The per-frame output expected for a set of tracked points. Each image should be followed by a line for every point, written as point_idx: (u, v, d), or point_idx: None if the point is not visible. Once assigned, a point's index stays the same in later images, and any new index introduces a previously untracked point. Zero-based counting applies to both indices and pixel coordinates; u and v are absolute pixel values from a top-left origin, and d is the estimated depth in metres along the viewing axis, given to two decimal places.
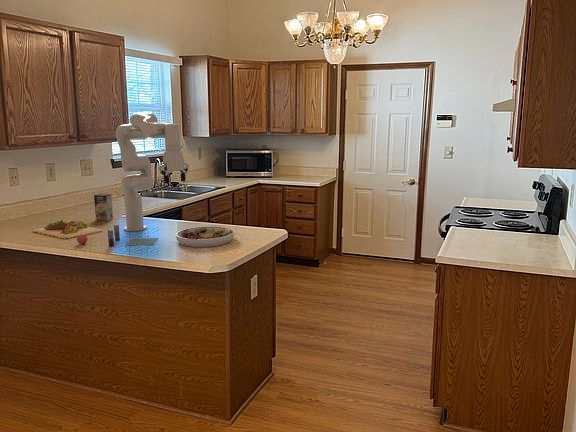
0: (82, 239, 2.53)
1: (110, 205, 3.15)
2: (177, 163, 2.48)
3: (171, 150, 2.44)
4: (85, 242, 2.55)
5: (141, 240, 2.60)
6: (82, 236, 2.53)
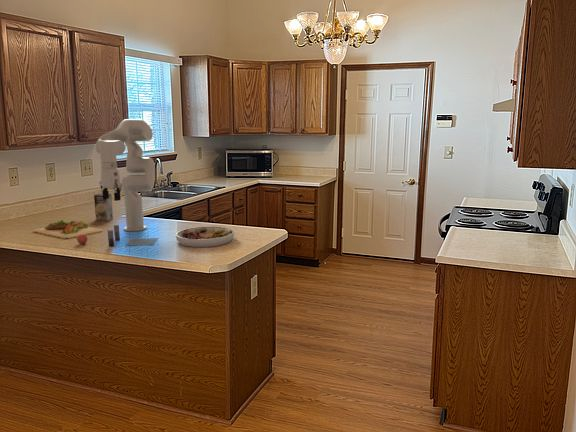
0: (82, 239, 2.53)
1: (110, 205, 3.15)
2: (106, 181, 2.47)
3: None
4: (85, 242, 2.55)
5: (141, 240, 2.60)
6: (82, 236, 2.53)
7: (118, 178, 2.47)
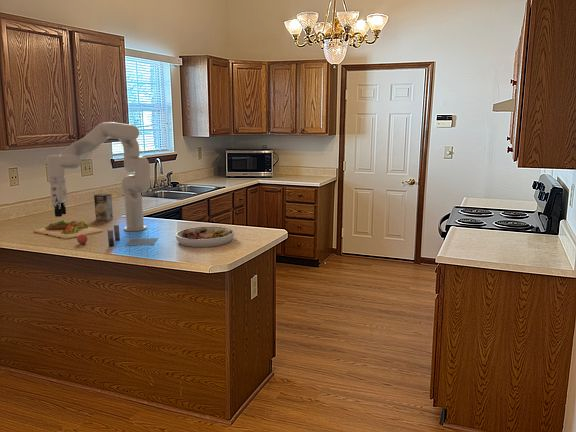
0: (82, 239, 2.53)
1: (110, 205, 3.15)
2: None
3: None
4: (85, 242, 2.55)
5: (141, 240, 2.60)
6: (82, 236, 2.53)
7: (57, 193, 2.45)
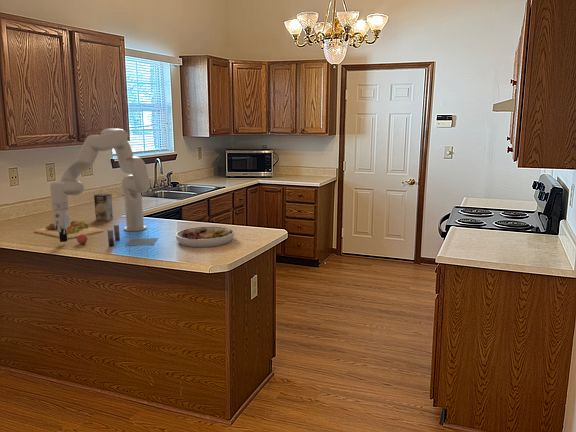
0: (82, 239, 2.53)
1: (110, 205, 3.15)
2: None
3: None
4: (85, 242, 2.55)
5: (141, 240, 2.60)
6: (82, 236, 2.53)
7: (60, 220, 2.47)
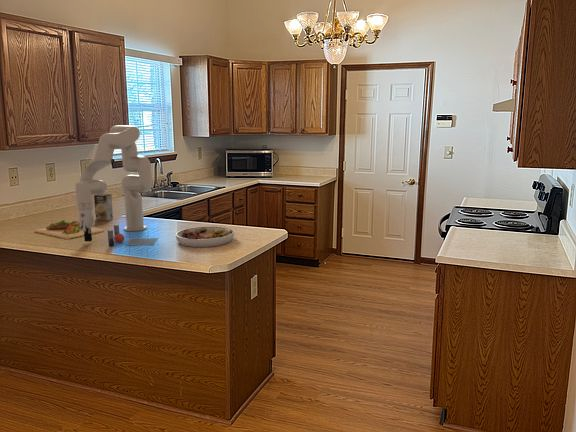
0: (119, 240, 2.54)
1: (110, 205, 3.15)
2: None
3: None
4: (119, 242, 2.56)
5: (141, 240, 2.60)
6: (121, 237, 2.55)
7: (86, 219, 2.48)
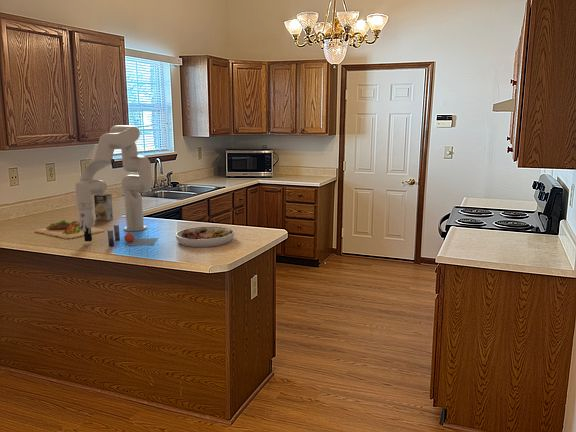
0: (126, 239, 2.55)
1: (110, 205, 3.15)
2: None
3: None
4: None
5: (141, 240, 2.60)
6: (128, 241, 2.56)
7: (86, 219, 2.48)
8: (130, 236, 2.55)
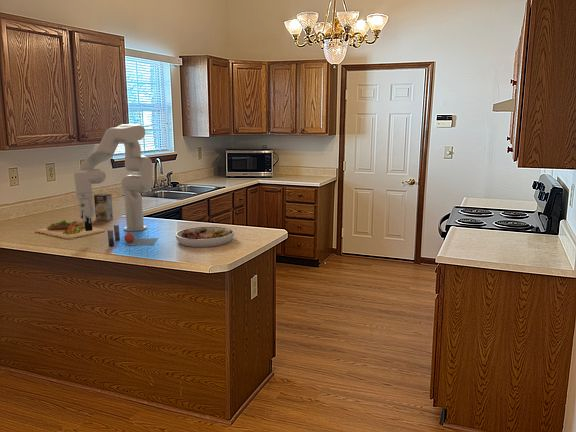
0: (126, 239, 2.55)
1: (110, 205, 3.15)
2: None
3: None
4: None
5: (141, 240, 2.60)
6: (128, 241, 2.56)
7: (86, 209, 2.48)
8: (130, 236, 2.55)
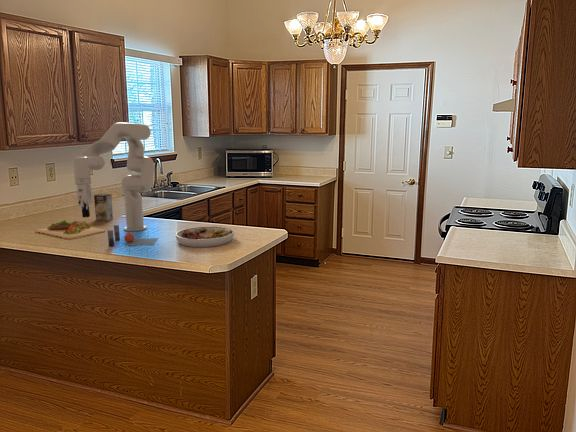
0: (126, 239, 2.55)
1: (110, 205, 3.15)
2: None
3: None
4: None
5: (141, 240, 2.60)
6: (128, 241, 2.56)
7: (83, 194, 2.46)
8: (130, 236, 2.55)
